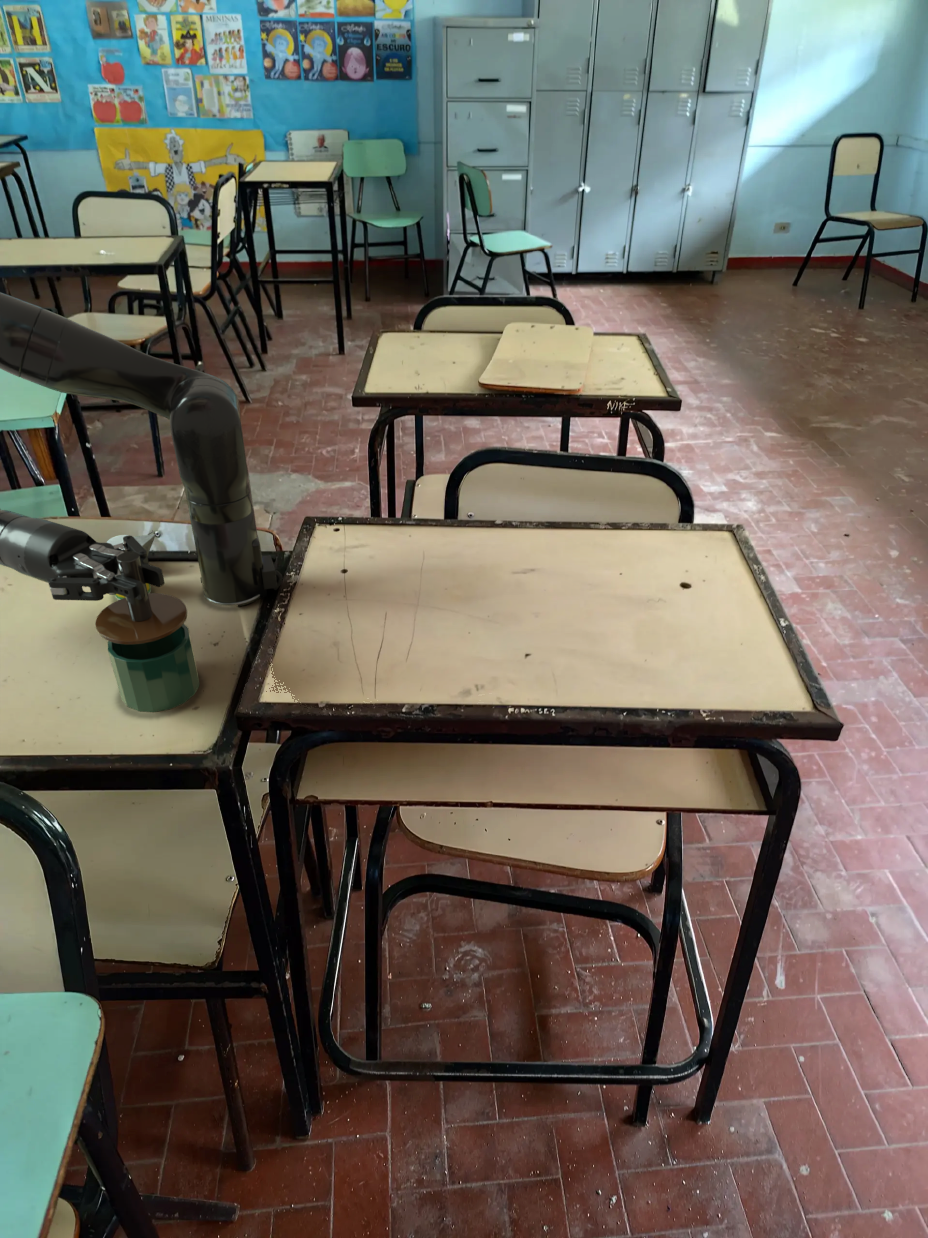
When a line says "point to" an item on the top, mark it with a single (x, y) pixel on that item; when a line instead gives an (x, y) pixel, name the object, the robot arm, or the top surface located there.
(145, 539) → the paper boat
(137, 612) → the lid
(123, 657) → the canister
